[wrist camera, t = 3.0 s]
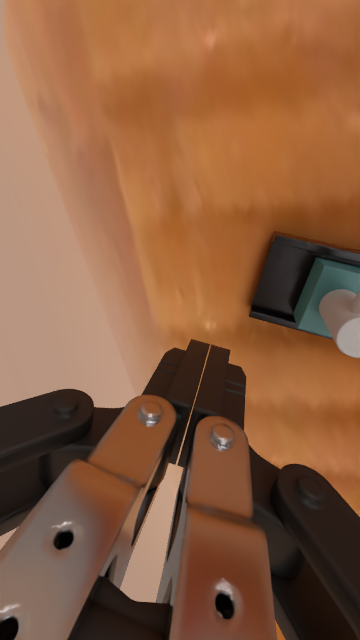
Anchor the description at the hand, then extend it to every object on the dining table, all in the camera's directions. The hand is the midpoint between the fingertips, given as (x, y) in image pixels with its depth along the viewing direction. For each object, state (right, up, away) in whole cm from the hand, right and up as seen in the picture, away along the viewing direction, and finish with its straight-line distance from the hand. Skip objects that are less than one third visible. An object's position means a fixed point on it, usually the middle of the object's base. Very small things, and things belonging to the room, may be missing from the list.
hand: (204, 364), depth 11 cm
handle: (+11, +5, +11) cm, 17 cm away
